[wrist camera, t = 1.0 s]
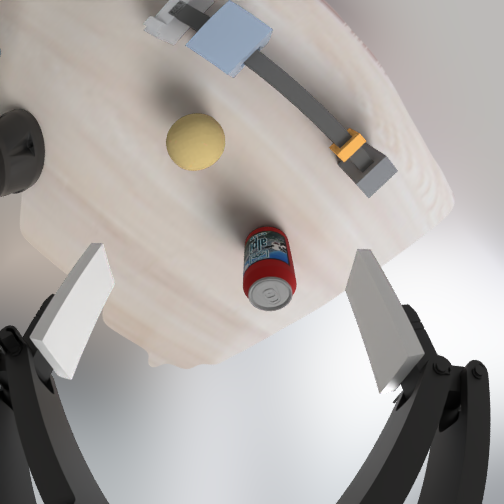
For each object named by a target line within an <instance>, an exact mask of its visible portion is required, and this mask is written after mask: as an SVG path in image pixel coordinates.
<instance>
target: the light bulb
mask: <svg viewBox="0 0 504 504" xmlns="http://www.w3.org/2000/svg"><path fill="white" fill-rule="evenodd" d="M166 146H167V151H168V153H169V155H170V157H171V159H172V160H173V161H174V162H175V163H176V164H177V165H178V166H179V167H181V168H183V169H185V170H191V171H196V170H202V169H205V168H207V167H209V166H211V165H213V164H214V163H215V162H216V161H217V160H218V159H219V158H220V156H221V155H222V153H223V151H224V147H225V135H224V132H223V129H222V127H221V126H220V124H219V123H218V122H217V121H216V120H215V119H214V118H212V117H210V116H208V115H205V114H200V113H196V114H189V115H186V116H184V117H182V118H180V119H179V120H177V121H176V122H175V123H174V124H173V125H172V127H171V128H170V130H169V132H168V134H167V139H166Z"/></svg>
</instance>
